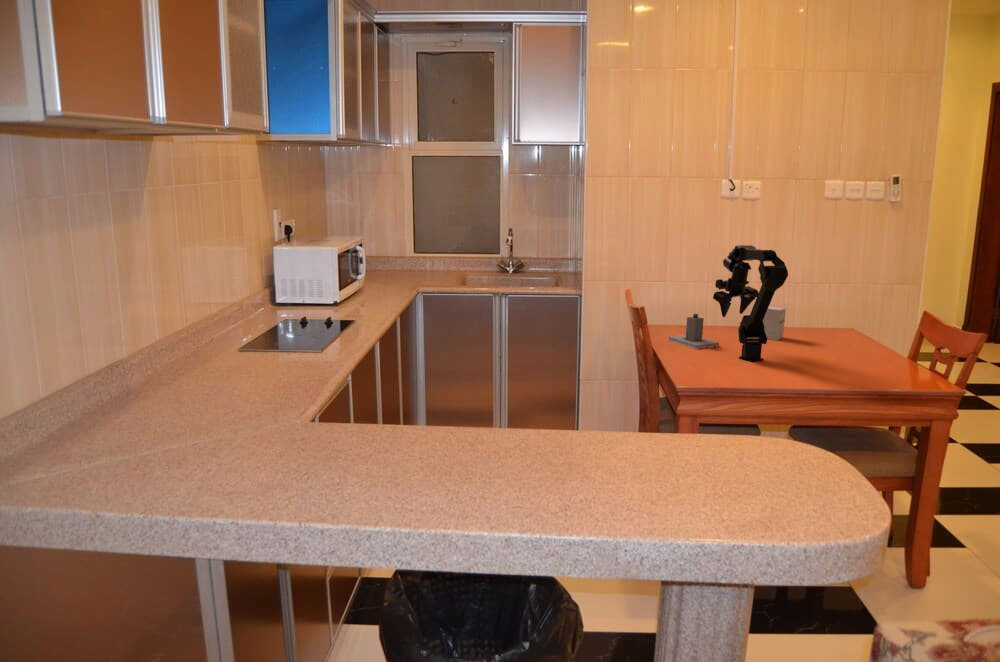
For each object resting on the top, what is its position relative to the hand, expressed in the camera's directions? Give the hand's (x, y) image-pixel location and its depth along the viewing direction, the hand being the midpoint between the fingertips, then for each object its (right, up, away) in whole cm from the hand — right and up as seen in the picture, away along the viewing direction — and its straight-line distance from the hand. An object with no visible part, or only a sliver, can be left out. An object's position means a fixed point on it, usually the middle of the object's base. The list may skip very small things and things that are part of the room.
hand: (732, 315), depth 303 cm
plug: (-13, -11, +9) cm, 19 cm away
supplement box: (+23, -9, +22) cm, 33 cm away
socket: (-13, -11, +9) cm, 19 cm away
